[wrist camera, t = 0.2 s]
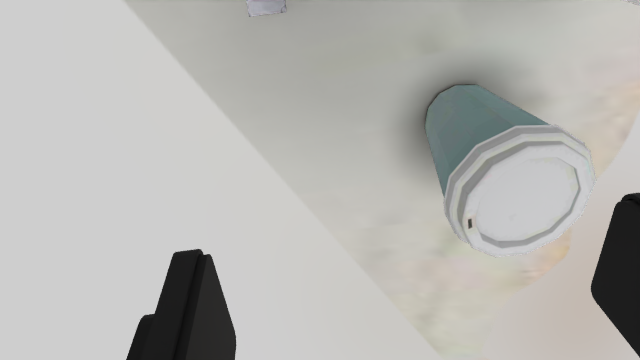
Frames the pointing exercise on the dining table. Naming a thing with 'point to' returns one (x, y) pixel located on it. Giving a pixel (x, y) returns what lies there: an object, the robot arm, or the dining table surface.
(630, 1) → the milk
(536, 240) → the disposable coffee cup
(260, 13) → the pot
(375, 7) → the dining table surface
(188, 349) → the robot arm
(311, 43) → the dining table surface
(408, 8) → the dining table surface
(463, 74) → the dining table surface
